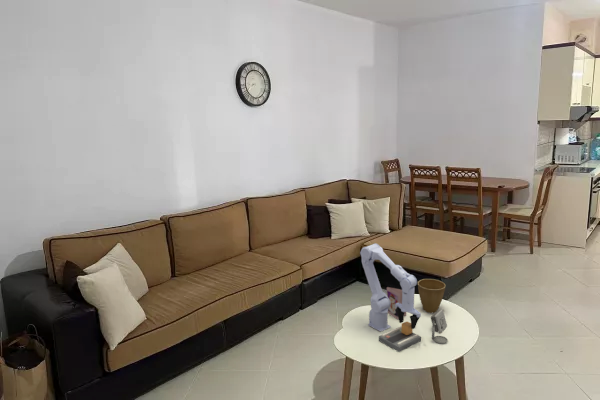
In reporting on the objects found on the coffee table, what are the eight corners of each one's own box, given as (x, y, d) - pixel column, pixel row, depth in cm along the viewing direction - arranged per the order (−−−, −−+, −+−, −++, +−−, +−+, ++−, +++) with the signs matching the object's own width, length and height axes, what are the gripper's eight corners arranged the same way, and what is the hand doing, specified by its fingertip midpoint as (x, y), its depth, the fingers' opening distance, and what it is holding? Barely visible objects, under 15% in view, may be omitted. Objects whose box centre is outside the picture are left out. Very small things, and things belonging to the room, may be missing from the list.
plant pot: (411, 310, 244) (412, 284, 241) (425, 302, 254) (426, 276, 251) (435, 319, 234) (436, 291, 231) (449, 310, 244) (450, 283, 240)
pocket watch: (450, 343, 209) (451, 324, 207) (435, 346, 207) (436, 327, 205) (440, 335, 217) (441, 316, 215) (425, 337, 215) (426, 319, 213)
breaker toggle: (401, 332, 215) (401, 323, 214) (406, 330, 217) (407, 321, 216) (407, 335, 212) (407, 326, 211) (412, 332, 214) (412, 323, 213)
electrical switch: (440, 334, 218) (439, 316, 217) (430, 331, 221) (429, 314, 220) (447, 326, 225) (446, 309, 224) (437, 324, 229) (436, 308, 227)
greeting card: (385, 312, 243) (385, 287, 240) (395, 309, 246) (396, 284, 243) (397, 320, 233) (398, 294, 230) (408, 317, 236) (409, 292, 233)
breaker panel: (378, 340, 213) (378, 334, 212) (400, 330, 222) (400, 324, 221) (399, 352, 203) (399, 345, 202) (421, 341, 212) (421, 334, 211)
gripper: (391, 296, 215) (390, 322, 217) (414, 307, 203) (413, 333, 206) (400, 293, 219) (400, 318, 221) (424, 303, 207) (423, 329, 210)
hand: (407, 325), depth 214 cm, fingers open, 7 cm apart
